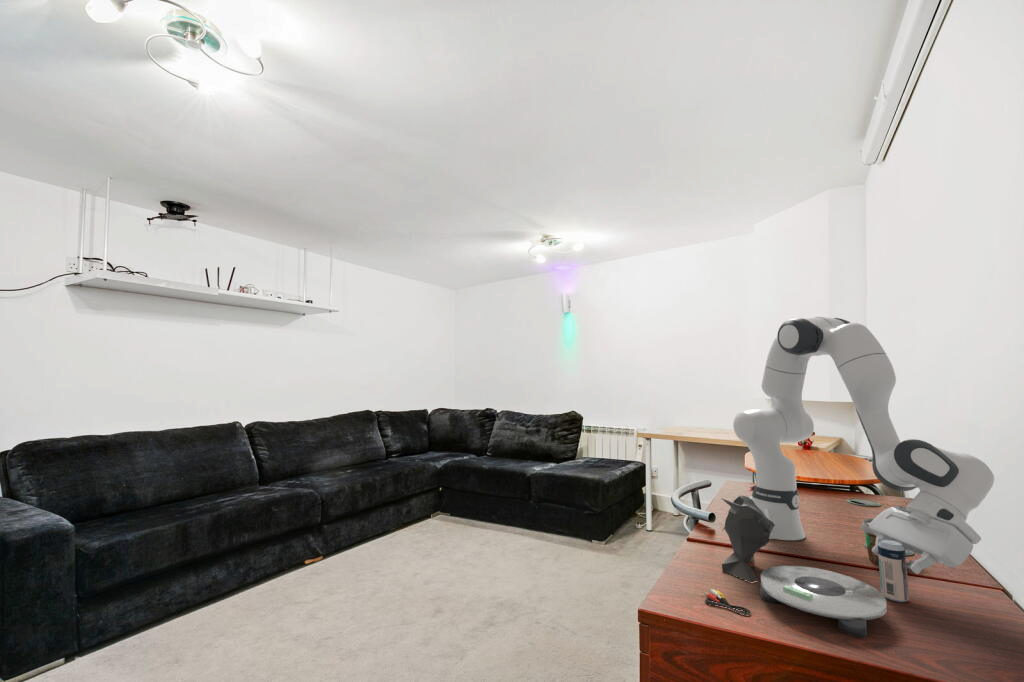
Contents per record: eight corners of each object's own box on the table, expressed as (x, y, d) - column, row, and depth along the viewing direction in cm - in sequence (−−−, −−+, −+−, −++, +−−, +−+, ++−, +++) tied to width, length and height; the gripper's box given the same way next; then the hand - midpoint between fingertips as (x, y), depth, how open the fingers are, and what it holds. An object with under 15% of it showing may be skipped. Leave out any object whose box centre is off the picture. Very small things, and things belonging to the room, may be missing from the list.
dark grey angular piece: (792, 573, 116) (790, 499, 117) (751, 584, 109) (749, 506, 111) (742, 553, 129) (741, 487, 130) (702, 562, 122) (701, 492, 124)
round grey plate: (740, 600, 101) (739, 573, 102) (795, 578, 113) (794, 554, 113) (855, 649, 83) (853, 617, 83) (908, 617, 94) (906, 589, 94)
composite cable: (754, 616, 95) (753, 603, 95) (738, 622, 93) (738, 609, 93) (713, 596, 104) (712, 585, 104) (698, 601, 101) (697, 589, 102)
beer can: (914, 604, 99) (910, 546, 100) (889, 602, 100) (885, 545, 101) (900, 594, 104) (896, 539, 105) (876, 592, 105) (872, 537, 106)
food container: (882, 552, 130) (879, 515, 131) (907, 560, 124) (904, 521, 125) (852, 558, 125) (849, 520, 126) (877, 566, 120) (874, 526, 120)
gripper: (884, 495, 114) (847, 536, 113) (966, 519, 94) (922, 569, 93) (903, 513, 114) (867, 554, 113) (990, 541, 94) (946, 592, 93)
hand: (892, 561), depth 103 cm, fingers open, 8 cm apart
